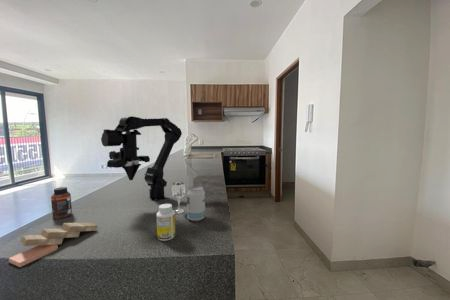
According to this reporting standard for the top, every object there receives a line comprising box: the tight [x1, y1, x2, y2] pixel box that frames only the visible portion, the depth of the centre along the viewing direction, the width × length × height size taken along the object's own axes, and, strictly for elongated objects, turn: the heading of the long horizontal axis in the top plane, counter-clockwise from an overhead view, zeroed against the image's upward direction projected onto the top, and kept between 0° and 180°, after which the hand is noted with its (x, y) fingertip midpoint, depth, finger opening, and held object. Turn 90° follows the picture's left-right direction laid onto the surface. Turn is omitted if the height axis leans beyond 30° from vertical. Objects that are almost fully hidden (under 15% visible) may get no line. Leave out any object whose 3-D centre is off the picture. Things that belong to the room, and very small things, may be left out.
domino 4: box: [61, 222, 98, 232], centre depth 63 cm, size 2×5×8 cm
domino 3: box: [40, 228, 81, 239], centre depth 59 cm, size 2×5×8 cm
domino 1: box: [20, 234, 64, 247], centre depth 55 cm, size 2×5×8 cm
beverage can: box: [186, 185, 206, 222], centre depth 74 cm, size 7×7×12 cm
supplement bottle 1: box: [50, 186, 73, 219], centre depth 76 cm, size 6×6×11 cm
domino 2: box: [8, 244, 59, 268], centre depth 52 cm, size 2×5×8 cm
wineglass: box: [171, 181, 187, 214], centre depth 81 cm, size 6×6×12 cm
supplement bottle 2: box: [156, 203, 176, 242], centre depth 61 cm, size 6×6×10 cm
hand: (131, 180), depth 86 cm, fingers closed
